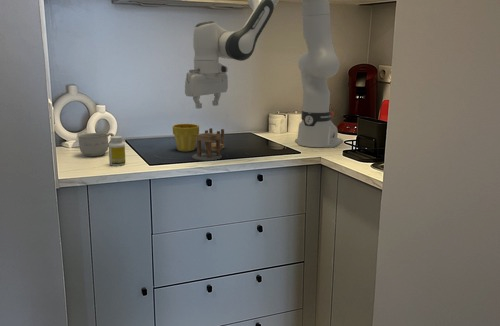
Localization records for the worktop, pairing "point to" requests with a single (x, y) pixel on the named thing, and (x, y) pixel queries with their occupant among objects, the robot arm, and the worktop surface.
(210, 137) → the stool
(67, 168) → the worktop surface
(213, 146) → the upturned stool
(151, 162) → the worktop surface
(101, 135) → the teacup
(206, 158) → the mat
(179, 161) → the worktop surface
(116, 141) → the supplement bottle
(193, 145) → the plant pot
